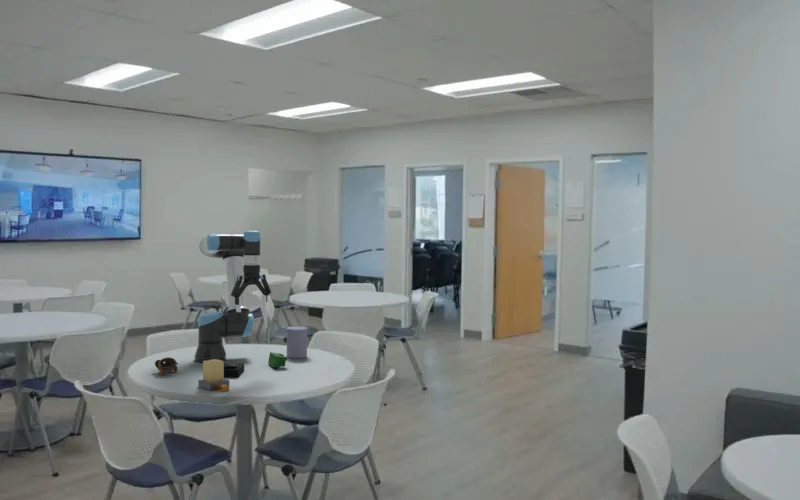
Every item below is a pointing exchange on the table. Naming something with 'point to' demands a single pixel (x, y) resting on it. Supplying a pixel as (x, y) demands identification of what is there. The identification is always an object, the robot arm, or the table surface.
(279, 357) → the clamp
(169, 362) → the pottery mug
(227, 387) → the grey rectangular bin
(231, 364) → the battery charger
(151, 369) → the table surface
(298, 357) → the container
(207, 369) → the tan rectangular block
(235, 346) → the table surface
